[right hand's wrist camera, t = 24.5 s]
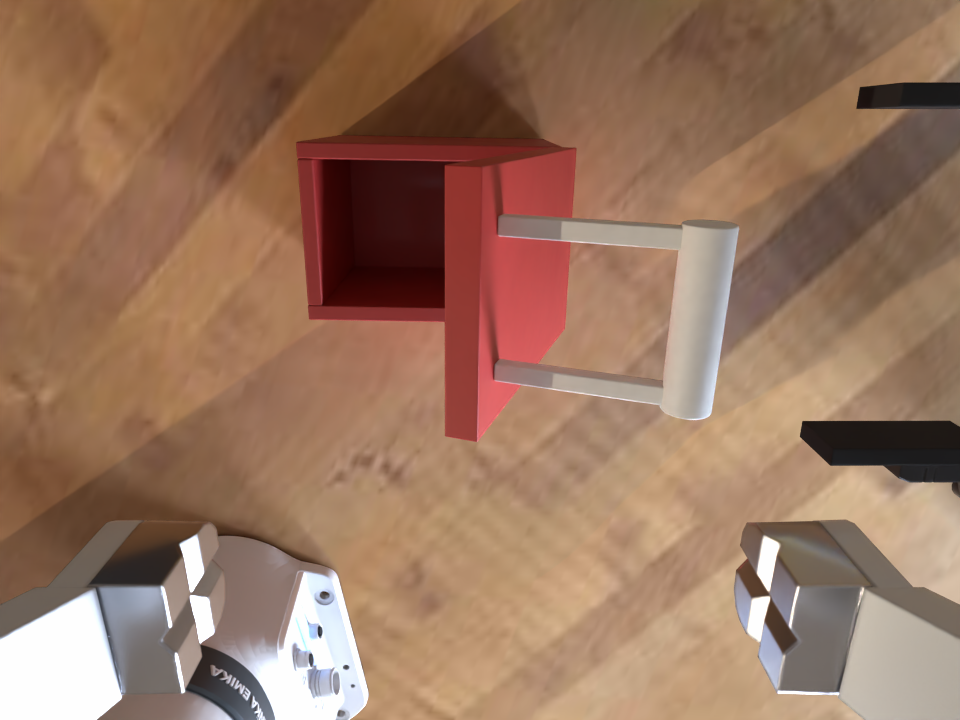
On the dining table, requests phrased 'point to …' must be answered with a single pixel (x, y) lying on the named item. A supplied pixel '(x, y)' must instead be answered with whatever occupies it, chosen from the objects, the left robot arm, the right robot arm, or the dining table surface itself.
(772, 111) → the dining table surface
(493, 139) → the chest
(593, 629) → the dining table surface
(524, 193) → the lid
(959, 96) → the left robot arm
